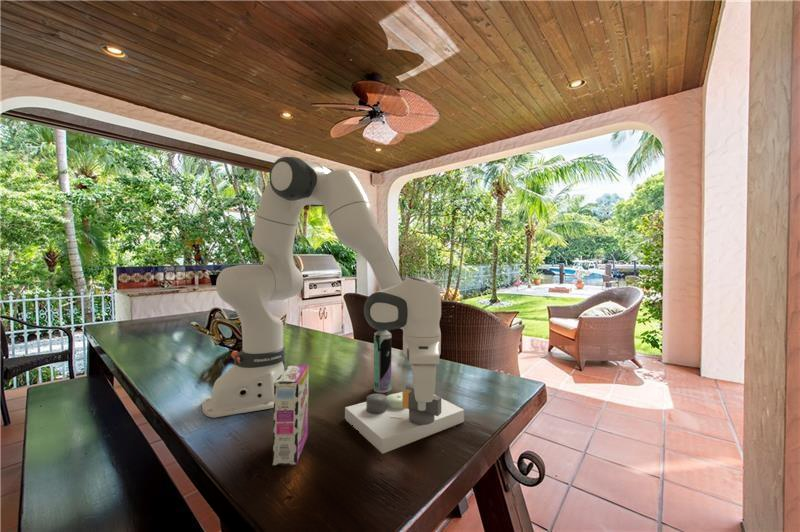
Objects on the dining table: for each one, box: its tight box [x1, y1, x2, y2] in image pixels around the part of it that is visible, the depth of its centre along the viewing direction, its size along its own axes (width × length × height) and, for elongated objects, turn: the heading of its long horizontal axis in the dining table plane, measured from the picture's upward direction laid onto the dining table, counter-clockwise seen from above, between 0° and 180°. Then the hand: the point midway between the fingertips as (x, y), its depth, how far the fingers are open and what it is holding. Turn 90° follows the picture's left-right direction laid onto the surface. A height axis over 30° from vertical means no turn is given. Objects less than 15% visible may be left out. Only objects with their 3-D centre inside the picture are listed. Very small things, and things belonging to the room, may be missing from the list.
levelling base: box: [344, 383, 465, 454], centre depth 81 cm, size 24×18×6 cm
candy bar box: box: [272, 365, 310, 467], centre depth 68 cm, size 11×5×16 cm, turn 5°
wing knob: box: [401, 388, 442, 425], centre depth 76 cm, size 9×6×6 cm, turn 61°
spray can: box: [373, 330, 392, 394], centre depth 101 cm, size 6×6×20 cm
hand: (421, 404), depth 76 cm, fingers closed on wing knob, 3 cm apart
